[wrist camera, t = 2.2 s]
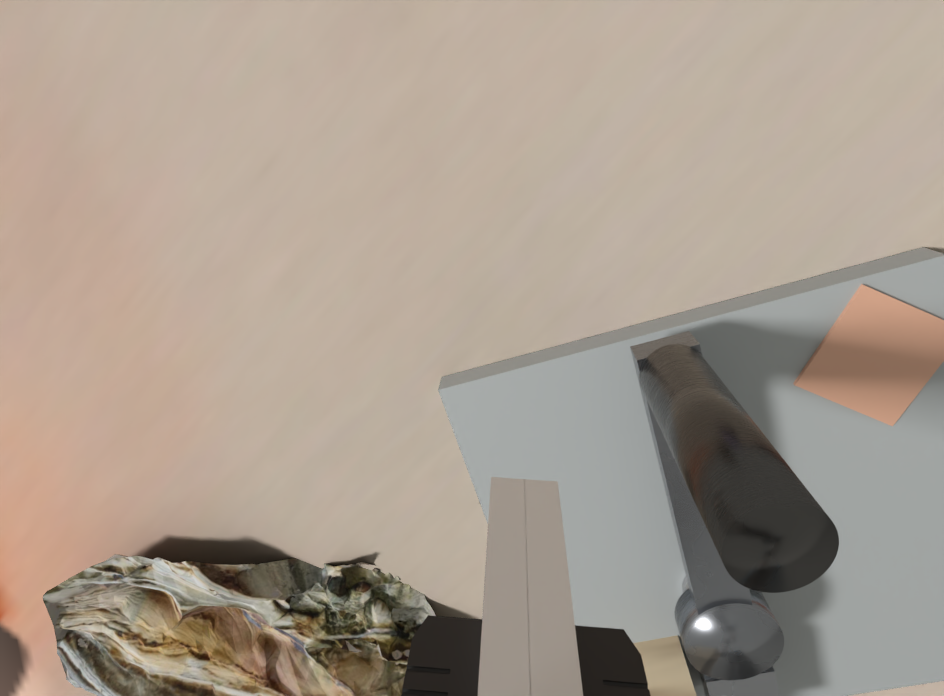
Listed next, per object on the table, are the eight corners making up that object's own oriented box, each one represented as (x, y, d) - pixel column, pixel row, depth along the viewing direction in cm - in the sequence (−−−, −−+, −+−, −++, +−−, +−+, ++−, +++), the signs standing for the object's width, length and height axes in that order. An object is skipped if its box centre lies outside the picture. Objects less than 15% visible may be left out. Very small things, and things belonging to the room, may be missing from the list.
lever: (775, 682, 32) (930, 1019, 20) (693, 695, 33) (796, 1028, 21) (702, 306, 25) (876, 481, 13) (599, 334, 26) (673, 524, 14)
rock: (424, 699, 42) (478, 555, 35) (423, 815, 36) (488, 670, 29) (71, 668, 38) (52, 499, 31) (4, 793, 32) (-40, 618, 25)
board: (948, 653, 33) (967, 677, 32) (565, 715, 37) (567, 738, 36) (923, 247, 26) (947, 254, 24) (441, 377, 29) (438, 389, 28)
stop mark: (890, 424, 27) (892, 426, 27) (793, 383, 27) (794, 385, 26) (964, 329, 25) (967, 330, 25) (861, 284, 25) (863, 285, 25)
